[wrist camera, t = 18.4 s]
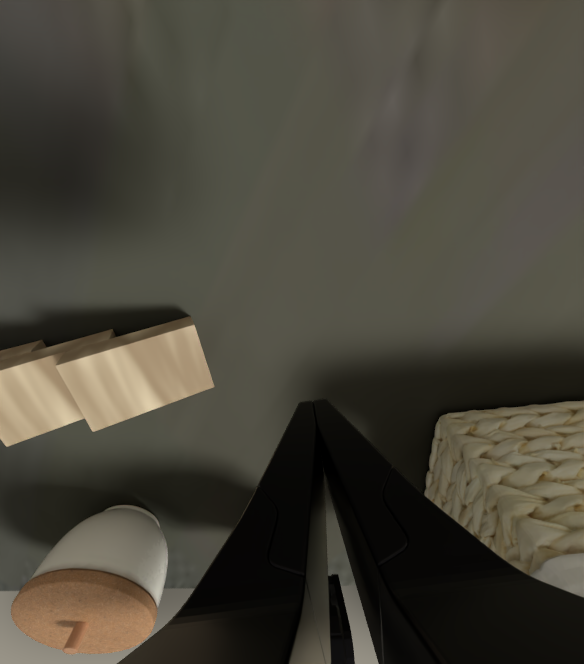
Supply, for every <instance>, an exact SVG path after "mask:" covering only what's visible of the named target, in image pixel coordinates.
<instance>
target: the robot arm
mask: <svg viewBox="0 0 584 664" xmlns="http://www.w3.org/2000/svg"><path fill="white" fill-rule="evenodd" d="M313 405H314V406H313ZM321 456H322V457H321ZM322 462H323V463H322ZM323 468H324V471H323ZM324 474H325V478H326V482H327V485H328V489H329V492H330V496H331V499H332V503H333V506H334V510H335V513H336V517H337V520H338V523H339V527H340V530H341V534H342V537H343V541H344V544H345V548H346V551H347V555H348V558H349V562H350V565H351V569H352V572H353V576H354V579H355V583H356V586H357V590H358V593H359V596H360V600H361V603H362V607H363V610H364V614H365V617H366V621H367V624H368V628H369V631H370V634H371V638H372V642H373V645H374V649H375V652H376V656H377V659H378V662H379V664H584V597H581V596H579V595H576V594H573V593H571V592H568V591H566V590H563V589H561V588H558V587H555V586H553V585H550V584H548V583H545V582H542V581H540V580H538V579H536V578H534V577H532V576H530V575H528V574H526V573H524V572H522V571H521V570H519V569H517V568H516V567H514V566H513V565H511V564H510V563H508V562H507V561H505V560H504V559H503V558H501V557H500V556H499V555H497V554H496V553H495V552H493V551H492V550H491V549H490V548H488V547H487V546H486V545H485V544H484V543H482V542H481V541H480V540H479V539H477V538H476V537H475V536H474V535H472V534H471V533H470V532H469V531H467V530H466V529H465V528H464V527H462V526H461V525H460V524H459V523H458V522H456V521H455V520H454V519H453V518H451V517H450V516H449V515H448V514H446V513H445V512H444V511H443V510H441V509H440V508H439V507H438V506H437V505H435V504H434V503H433V502H432V501H431V500H430V499H428V498H427V497H426V496H425V495H424V494H422V493H421V492H420V491H419V490H418V489H417V488H416V487H415V486H414V485H413V484H412V483H411V482H410V481H408V480H407V479H406V478H405V477H404V476H403V475H402V474H401V473H400V472H399V471H398V470H397V469H396V468H395V467H393V465H392V464H391V463H390V462H389V461H388V460H387V459H386V458H385V457H384V456H383V455H382V454H381V453H380V452H379V451H378V450H377V449H376V448H375V447H374V446H373V445H372V444H371V443H370V442H369V441H368V440H367V439H366V438H365V437H364V436H363V435H362V434H361V433H360V432H359V431H358V430H357V429H356V428H355V427H354V426H353V425H352V424H351V423H350V422H349V421H348V420H347V419H346V418H345V417H344V416H343V415H342V414H341V413H340V412H339V411H338V410H337V409H336V408H335V407H334V406H333V405H332V404H331V403H330V402H329V401H328V400H327V399H318V400H314V401H313V402H312V401H304V402H300V403H299V404H298V406H297V408H296V410H295V412H294V414H293V416H292V418H291V420H290V422H289V424H288V426H287V428H286V430H285V432H284V434H283V436H282V438H281V440H280V442H279V444H278V446H277V448H276V450H275V452H274V454H273V456H272V458H271V460H270V462H269V464H268V466H267V468H266V470H265V472H264V474H263V476H262V478H261V480H260V482H259V484H258V487H256V489H255V491H254V493H253V495H252V498H251V499H250V501H249V503H248V505H247V507H246V509H245V511H244V512H243V514H242V516H241V518H240V519H239V521H238V523H237V524H236V526H235V528H234V529H233V531H232V532H231V534H230V536H229V537H228V539H227V540H226V542H225V543H224V545H223V546H222V548H221V550H220V551H219V553H218V554H217V556H216V557H215V559H214V560H213V562H212V563H211V565H210V566H209V568H208V570H207V571H206V573H205V574H204V576H203V577H202V579H201V580H200V582H199V583H198V585H197V586H196V588H195V589H194V591H193V593H192V594H191V595H190V597H189V598H188V600H187V601H186V603H185V604H184V605H183V606H182V608H181V609H180V610H179V611H178V613H177V614H176V615H175V616H174V617H173V618H172V619H171V620H170V621H169V622H168V623H167V624H166V625H165V626H164V627H163V628H162V629H161V630H159V631H158V632H157V633H156V634H154V635H153V636H152V637H150V638H149V639H148V640H147V641H145V642H144V643H143V644H142V645H140V646H139V647H138V648H136V649H135V650H134V651H133V652H131V653H130V654H129V655H128V656H126V657H125V658H124V659H122V660H121V661H120V662H119V663H117V664H355V662H354V650H353V642H352V636H351V630H350V625H349V620H348V616H347V612H346V607H345V603H344V598H343V594H342V590H341V585H340V581H339V577H338V574H332V575H331V576H328V564H327V536H326V508H325V482H324Z"/></svg>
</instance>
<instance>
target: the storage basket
mask: <svg viewBox="0 0 584 664" xmlns="http://www.w3.org/2000/svg"><path fill="white" fill-rule="evenodd" d="M429 467H430V471H428V472H427V476H426V490H425V492H424V495H425V496H426V497H427V498H428V499H430V500H431V501H432V502H433V503H434V504H435V505H437V506H438V507H439V508H440V509H441V510H443V511H444V512H445V513H446V514H448V515H449V516H450V517H451V518H453V519H454V520H455V521H456V522H458V523H459V524H460V525H461V526H462V527H464V528H465V529H466V530H467V531H469V532H470V533H471V534H472V535H474V536H475V537H476V538H477V539H479V540H480V541H481V542H482V543H484V544H485V545H486V546H487V547H488V548H490V549H491V550H492V551H493V552H495V553H496V554H497V555H499V556H500V557H501V558H503V559H504V560H505V561H507V562H508V563H510V564H511V565H513V566H514V567H516V568H517V569H519V570H521V571H522V572H524V573H526V574H528V575H530V576H532V577H534V578H536V579H538V580H540V581H542V582H545V583H548V584H550V585H553V586H555V587H558V588H561V589H563V590H566V591H568V592H571V593H573V594H576V595H579V596H581V597H584V401H571V402H570V401H566V402H560V403H553V404H545V405H537V404H534V405H528V406H524V407H513V408H507V407H502V408H498V409H489V410H479V411H477V410H470V411H468V412H456V413H448V414H445V415H442V416H441V417H440V418H439V420H438V422H437V424H436V427H435V437H434V439H433V442H432V453H431V455H430V459H429Z"/></svg>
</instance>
